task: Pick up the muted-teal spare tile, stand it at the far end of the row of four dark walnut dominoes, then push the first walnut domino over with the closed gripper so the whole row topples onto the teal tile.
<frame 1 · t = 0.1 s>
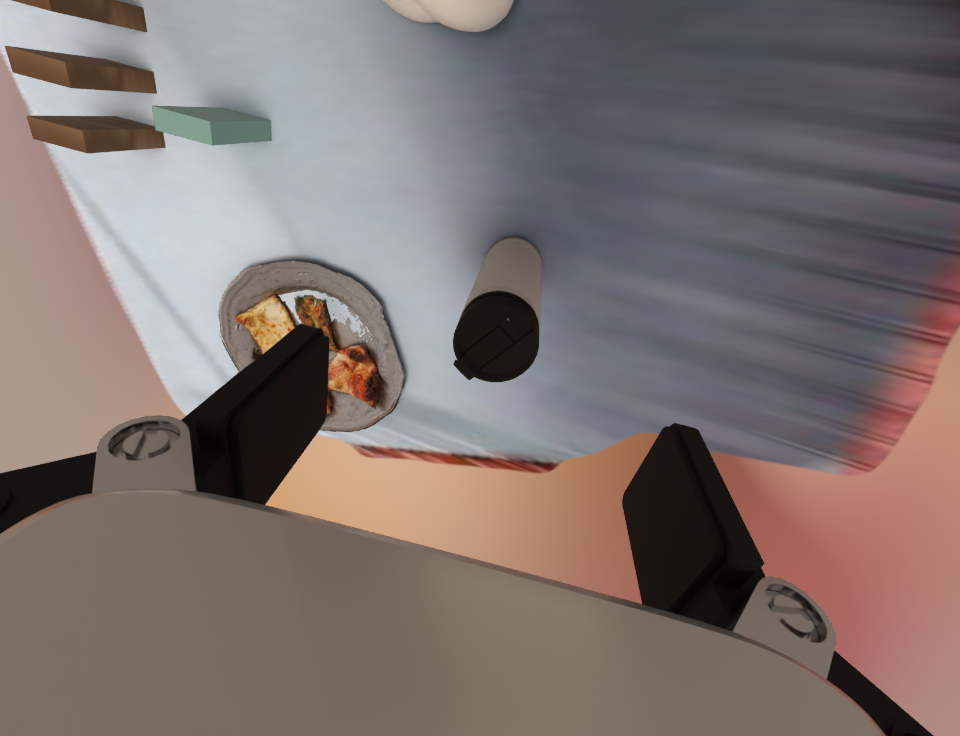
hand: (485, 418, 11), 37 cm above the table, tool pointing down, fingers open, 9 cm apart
food plate: (320, 348, 56), on the table
domino 3: (131, 76, 42), on the table
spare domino: (247, 124, 43), on the table
domino 2: (119, 13, 39), on the table
travel mug: (512, 264, 47), on the table
domino 4: (141, 132, 45), on the table
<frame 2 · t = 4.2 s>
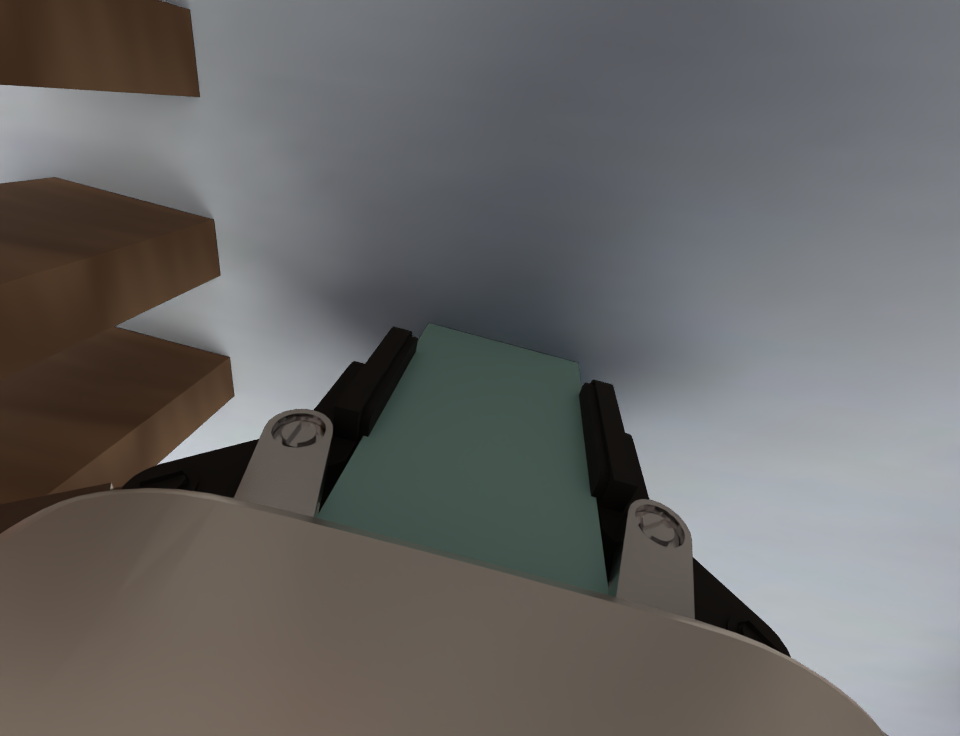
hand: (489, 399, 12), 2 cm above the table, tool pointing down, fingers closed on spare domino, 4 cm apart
domino 3: (140, 228, 13), on the table
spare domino: (496, 365, 14), on the table, touching gripper
domino 2: (98, 29, 10), on the table
domino 4: (168, 360, 16), on the table
when the fingers open (3 cm above the table, at t = 8.4 s): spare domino stays where it is, on the table.
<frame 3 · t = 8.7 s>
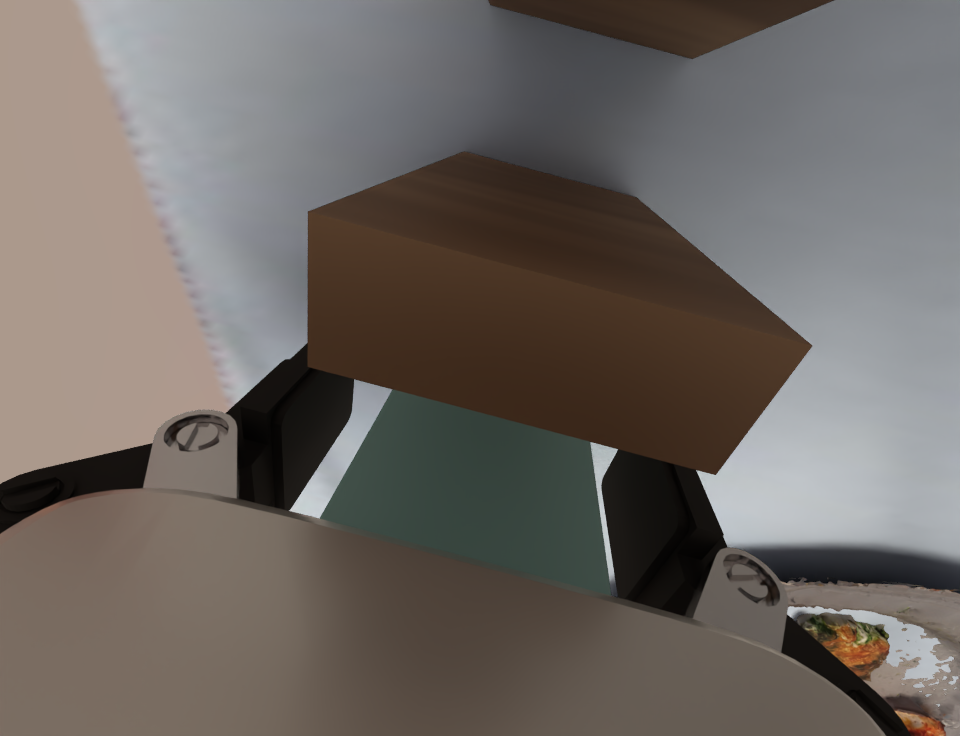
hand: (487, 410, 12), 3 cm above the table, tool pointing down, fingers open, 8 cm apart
food plate: (766, 681, 24), on the table
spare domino: (500, 353, 15), on the table
domino 4: (540, 207, 12), on the table
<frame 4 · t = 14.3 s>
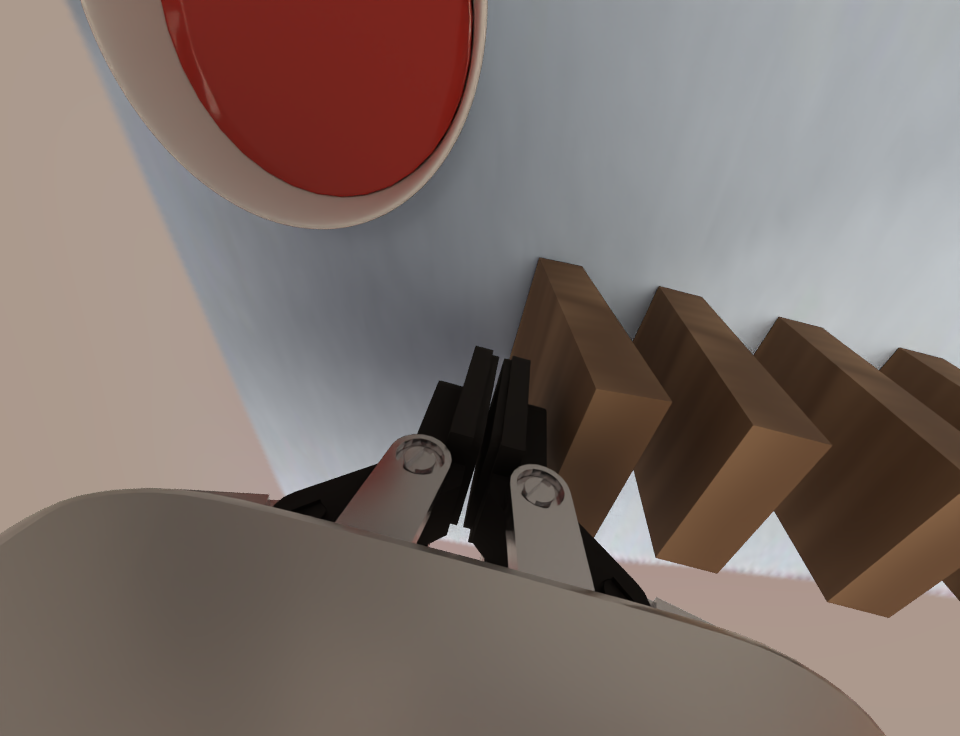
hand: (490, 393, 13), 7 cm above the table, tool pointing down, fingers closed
candle: (379, 51, 14), on the table
domino 3: (765, 372, 18), on the table
domino 2: (653, 344, 18), on the table
domino 1: (542, 317, 18), on the table, tilted 9°, touching gripper
domino 4: (876, 401, 18), on the table
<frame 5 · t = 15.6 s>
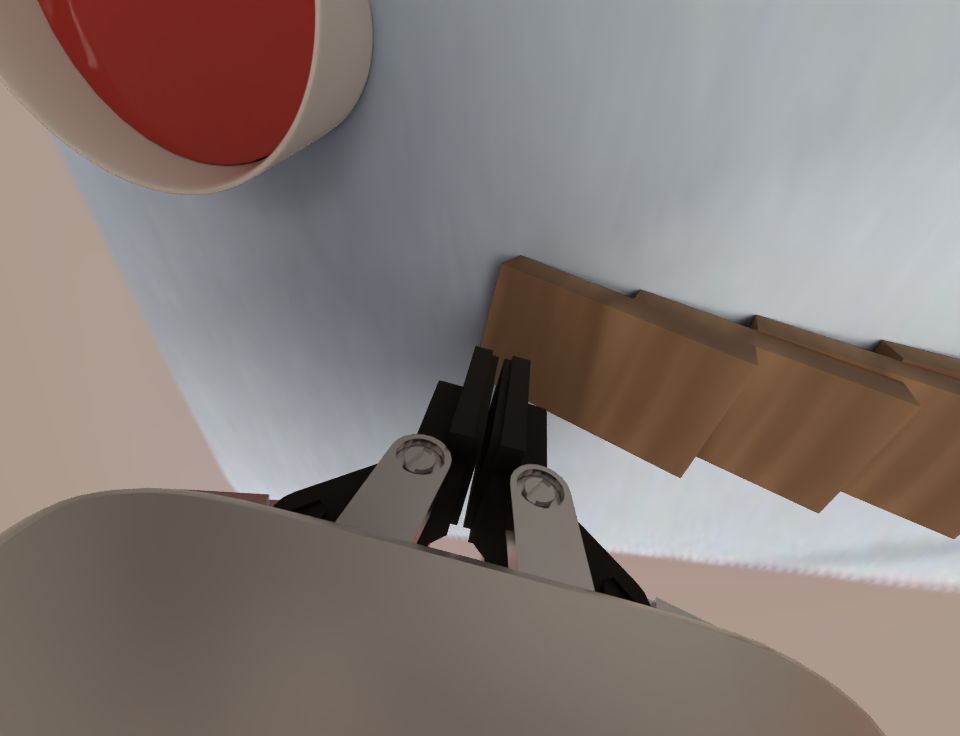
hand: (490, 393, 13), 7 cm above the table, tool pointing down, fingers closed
candle: (280, 24, 14), on the table
domino 3: (725, 374, 17), point 1 cm above the table, tilted 69°, touching domino 4
domino 2: (613, 349, 18), point 1 cm above the table, tilted 68°
domino 1: (496, 316, 17), point 1 cm above the table, tilted 69°
domino 4: (852, 401, 17), point 1 cm above the table, tilted 76°, touching domino 3, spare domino
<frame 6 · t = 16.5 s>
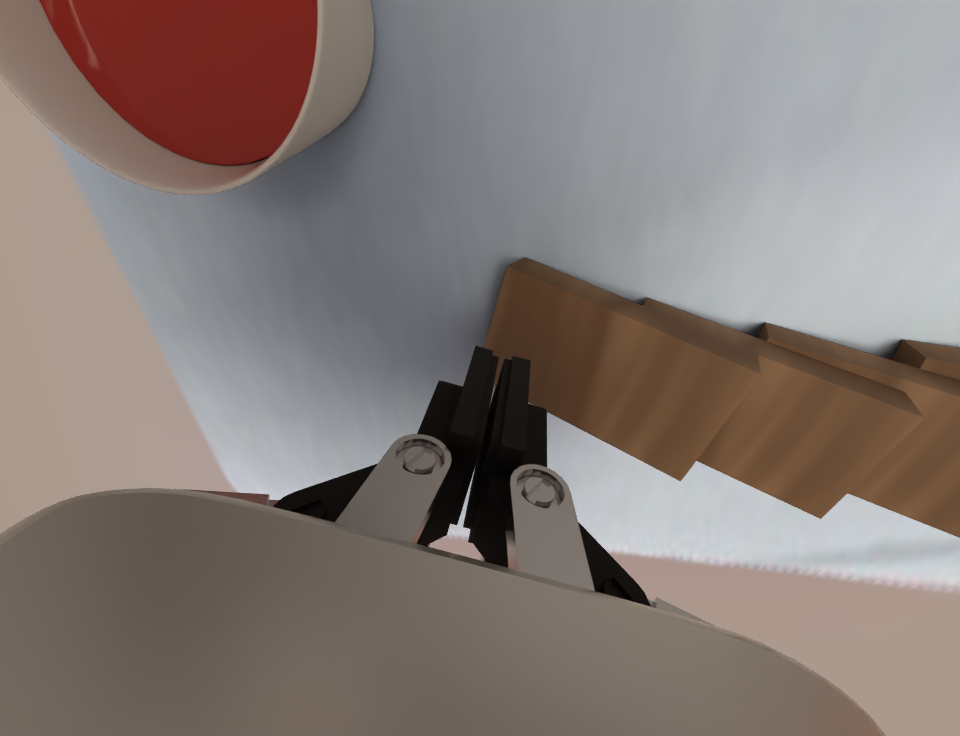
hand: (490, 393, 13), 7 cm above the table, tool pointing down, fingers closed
candle: (281, 24, 14), on the table
domino 3: (736, 382, 18), point 1 cm above the table, tilted 70°, touching domino 2, domino 4
domino 2: (619, 357, 18), point 1 cm above the table, tilted 70°, touching domino 1, domino 3
domino 1: (499, 318, 17), point 1 cm above the table, tilted 70°, touching domino 2
domino 4: (880, 403, 17), point 1 cm above the table, tilted 76°, touching domino 3, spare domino
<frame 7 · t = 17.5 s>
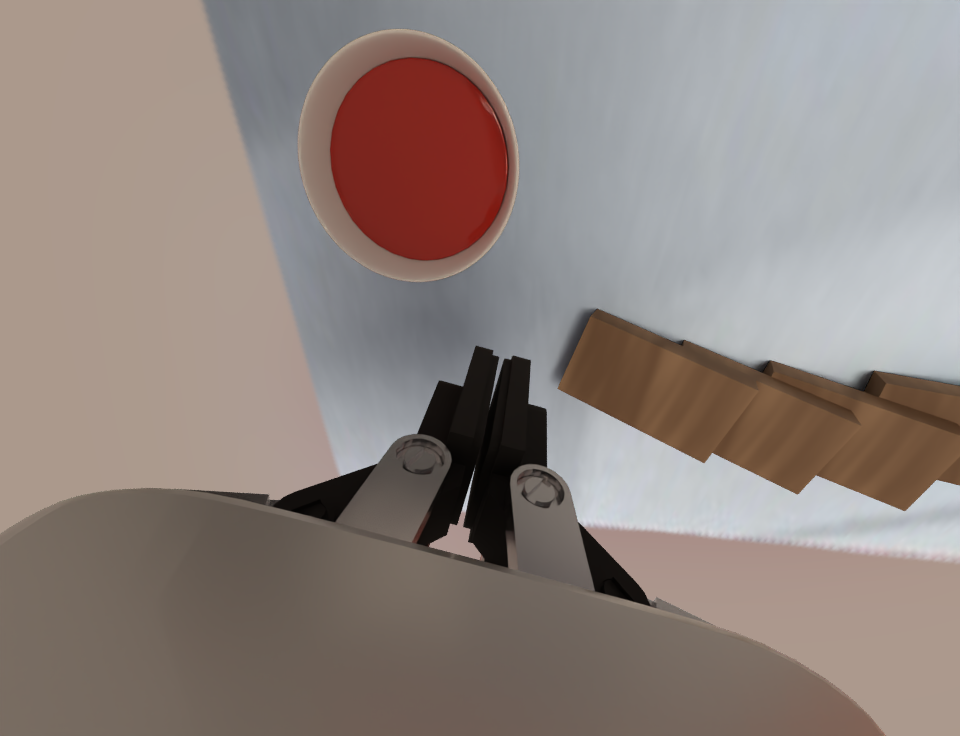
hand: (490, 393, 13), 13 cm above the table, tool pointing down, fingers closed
candle: (441, 165, 22), on the table
domino 3: (750, 401, 25), point 1 cm above the table, tilted 71°, touching domino 2
domino 2: (662, 379, 25), point 1 cm above the table, tilted 71°, touching domino 1, domino 3
domino 1: (577, 349, 25), point 1 cm above the table, tilted 71°, touching domino 2
domino 4: (860, 415, 24), point 1 cm above the table, tilted 73°
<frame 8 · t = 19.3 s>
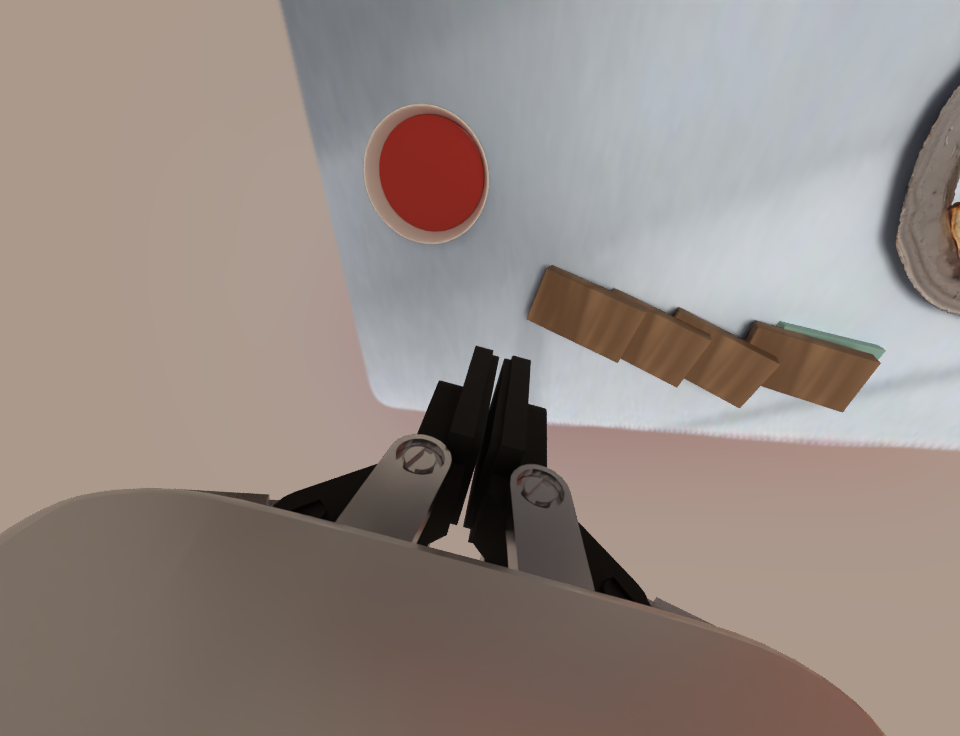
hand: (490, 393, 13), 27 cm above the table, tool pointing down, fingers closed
candle: (444, 169, 35), on the table
domino 3: (662, 333, 38), point 1 cm above the table, tilted 72°, touching domino 2, domino 4
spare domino: (764, 345, 38), on the table, tilted 90°, touching domino 4
domino 2: (599, 314, 38), point 1 cm above the table, tilted 72°, touching domino 3
domino 1: (539, 292, 38), point 1 cm above the table, tilted 72°
domino 4: (743, 348, 38), point 1 cm above the table, tilted 73°, touching domino 3, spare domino
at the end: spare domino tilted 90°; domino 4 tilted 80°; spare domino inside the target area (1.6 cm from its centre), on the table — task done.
